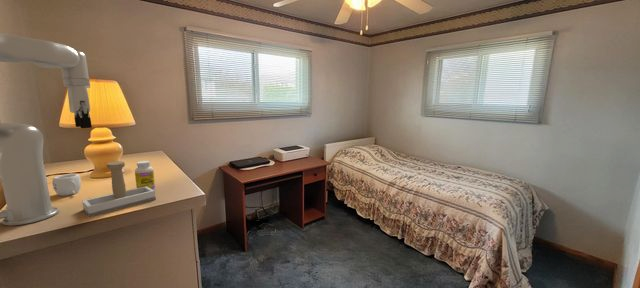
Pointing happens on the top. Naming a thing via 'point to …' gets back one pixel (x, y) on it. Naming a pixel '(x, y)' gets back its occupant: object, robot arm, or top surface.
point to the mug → (67, 184)
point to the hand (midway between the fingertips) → (83, 127)
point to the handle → (117, 179)
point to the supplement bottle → (144, 175)
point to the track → (117, 201)
